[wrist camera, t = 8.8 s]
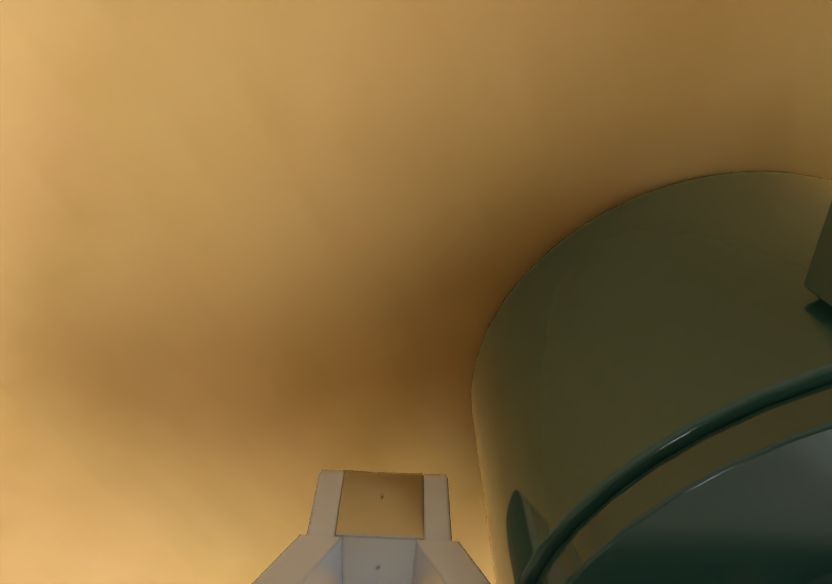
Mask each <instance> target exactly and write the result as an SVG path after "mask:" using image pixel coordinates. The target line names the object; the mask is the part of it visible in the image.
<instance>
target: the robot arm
mask: <svg viewBox="0 0 832 584" xmlns="http://www.w3.org/2000/svg"><path fill="white" fill-rule="evenodd" d="M252 584H490V582H489V581H488V580H487V578H486V577H485V576H484V574H483V573H482V572H481V570H480V569H479V568H478V566H477V565H476V564H475V562H474V561H473V560H472V558H471V557H470V556H469V554H468V553H467V552H466V550H465V549H464V548H463V547H462V545H461V544H460V543H459V542H456V541H452V536H451V520H450V504H449V489H448V478H447V476H446V475H440V474H422V473H393V472H367V471H353V470H334V469H321V471H320V473H319V476H318V481H317V486H316V491H315V496H314V501H313V506H312V511H311V516H310V521H309V526H308V531H307V535H299V536H298V537H297V538H296V539H295V540H294V541H293V542H292V543H291V544H290V545H289V546H288V547H287V548H286V549H285V550H284V551H283V552H282V553H281V554H280V555H279V556H278V557H277V558H276V560H275V561H274V562H273V563H272V564H271V565H270V566H269V567H268V568H267V569H266V570H265V571H264V572H263V573H262V574H261V575H260V576H259V577H258V578H257V579H256V580H255V581H254V582H253V583H252Z"/></svg>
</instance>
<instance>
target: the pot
mask: <svg viewBox="0 0 832 584" xmlns="http://www.w3.org/2000/svg"><path fill="white" fill-rule="evenodd" d="M471 404H472V416H473V424H474V432H475V439H476V446H477V453H478V460H479V468H480V475H481V482H482V489H483V496H484V504H485V511H486V518H487V525H488V532H489V540H490V547H491V554H492V561H493V568H494V576H495V583H496V584H832V182H831V181H828V180H825V179H822V178H818V177H813V176H806V175H800V174H793V173H787V172H753V171H748V172H738V173H729V174H720V175H711V176H706V177H702V178H697V179H693V180H689V181H684V182H680V183H676V184H672V185H669V186H666V187H663V188H661V189H658V190H655V191H652V192H649V193H646V194H643V195H641V196H638V197H636V198H634V199H631V200H629V201H627V202H625V203H623V204H621V205H619V206H617V207H615V208H613V209H611V210H608V211H606V212H604V213H603V214H601V215H600V216H598V217H596V218H595V219H593V220H591V221H590V222H588V223H587V224H585V225H583V226H582V227H580V228H579V229H577V230H575V231H574V232H573V233H571V234H570V235H569V236H567V237H566V238H565V239H564V240H562V241H561V242H560V243H559V244H557V245H556V246H555V247H553V248H552V249H551V250H550V251H548V252H547V253H546V254H545V255H544V256H543V257H542V258H541V259H540V260H539V261H538V262H537V263H536V264H535V265H534V266H533V267H532V268H531V269H530V270H529V271H528V272H527V273H526V274H525V275H524V276H523V277H522V279H521V280H520V281H519V282H518V284H517V285H516V286H515V287H514V289H513V290H512V291H511V292H510V294H509V295H508V296H507V298H506V299H505V300H504V302H503V304H502V305H501V307H500V309H499V310H498V312H497V314H496V315H495V317H494V319H493V320H492V322H491V324H490V325H489V328H488V330H487V332H486V335H485V337H484V340H483V342H482V344H481V347H480V349H479V352H478V356H477V360H476V364H475V368H474V372H473V380H472V391H471Z"/></svg>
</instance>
